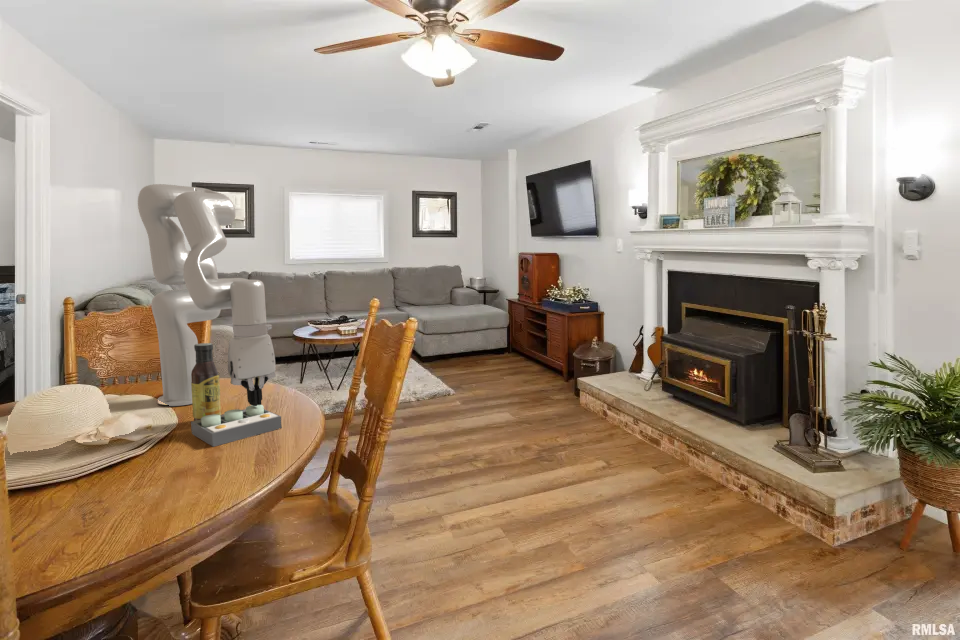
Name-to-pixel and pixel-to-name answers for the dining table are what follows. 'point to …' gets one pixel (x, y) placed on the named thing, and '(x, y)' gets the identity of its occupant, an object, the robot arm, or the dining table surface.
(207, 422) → the end button
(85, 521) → the dining table surface
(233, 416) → the middle button
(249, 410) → the end button
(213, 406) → the sauce bottle
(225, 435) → the button board
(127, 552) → the dining table surface
